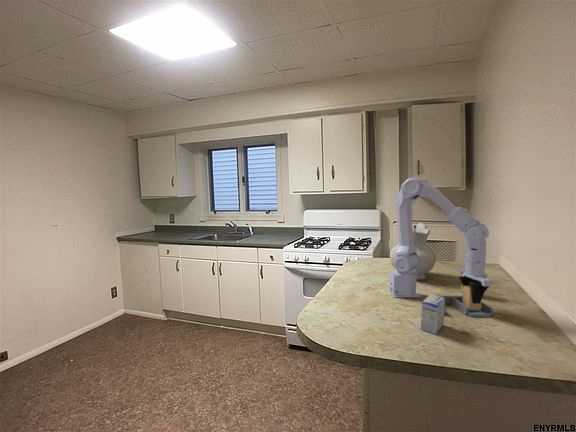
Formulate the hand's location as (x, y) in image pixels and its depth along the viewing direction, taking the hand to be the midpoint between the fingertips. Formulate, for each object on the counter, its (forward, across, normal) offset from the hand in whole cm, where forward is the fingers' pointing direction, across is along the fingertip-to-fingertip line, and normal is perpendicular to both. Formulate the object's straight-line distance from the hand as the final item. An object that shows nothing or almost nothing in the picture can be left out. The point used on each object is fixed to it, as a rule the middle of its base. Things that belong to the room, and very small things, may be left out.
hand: (472, 300), depth 107 cm
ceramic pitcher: (+4, +38, +6) cm, 39 cm away
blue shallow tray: (+3, 0, +4) cm, 5 cm away
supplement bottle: (+4, +15, -7) cm, 17 cm away
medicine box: (+4, -13, +19) cm, 23 cm away
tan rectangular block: (+2, 0, 0) cm, 3 cm away
